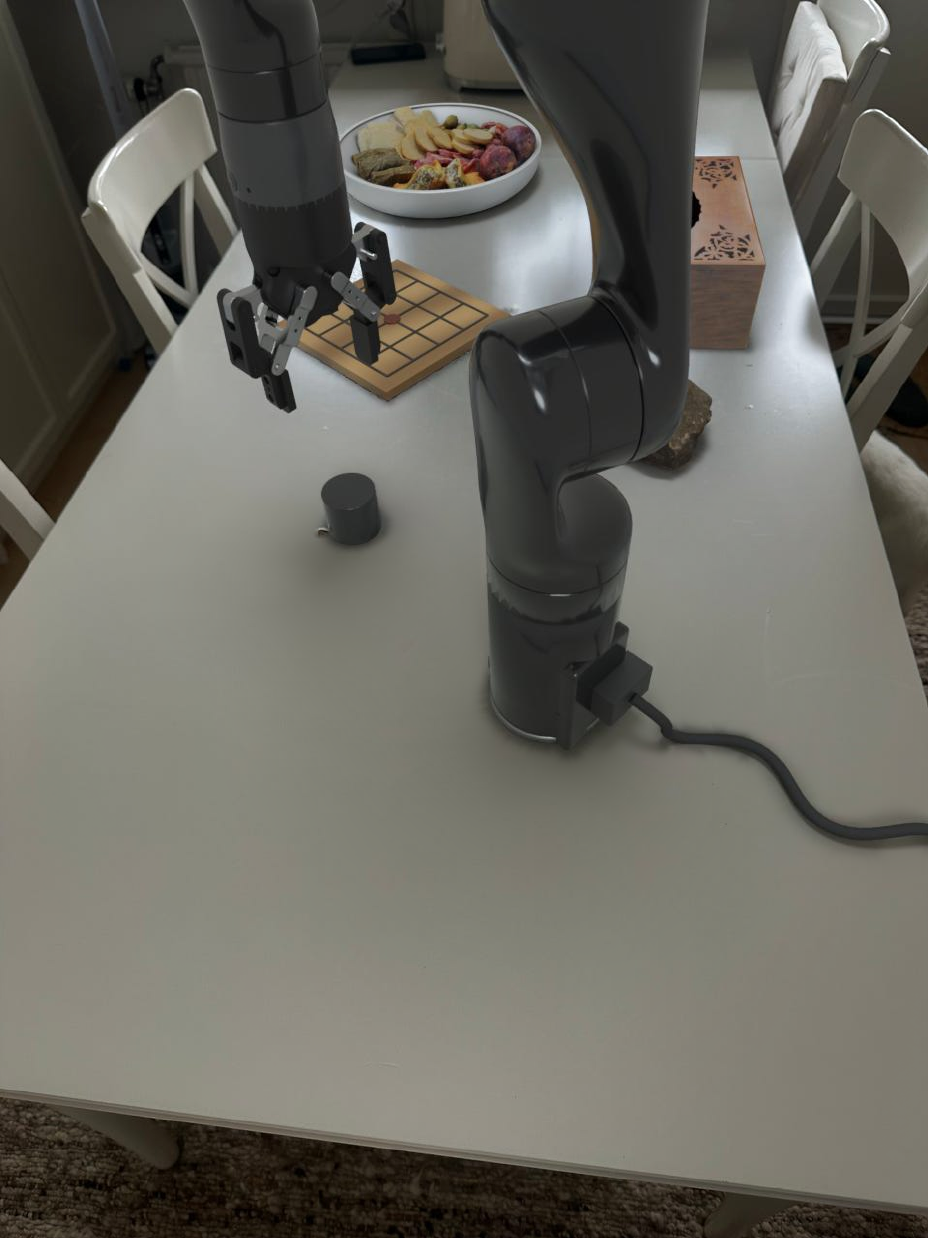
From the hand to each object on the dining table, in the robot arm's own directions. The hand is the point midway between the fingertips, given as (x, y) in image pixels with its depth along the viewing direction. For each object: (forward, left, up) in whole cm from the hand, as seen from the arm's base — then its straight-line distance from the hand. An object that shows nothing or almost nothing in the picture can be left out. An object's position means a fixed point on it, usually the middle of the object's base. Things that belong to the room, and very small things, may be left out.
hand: (327, 382), depth 69 cm
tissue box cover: (+2, -54, -16) cm, 56 cm away
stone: (-11, -28, -16) cm, 34 cm away
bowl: (+46, -56, -16) cm, 74 cm away
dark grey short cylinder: (0, 0, -16) cm, 16 cm away
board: (+22, -25, -16) cm, 37 cm away
